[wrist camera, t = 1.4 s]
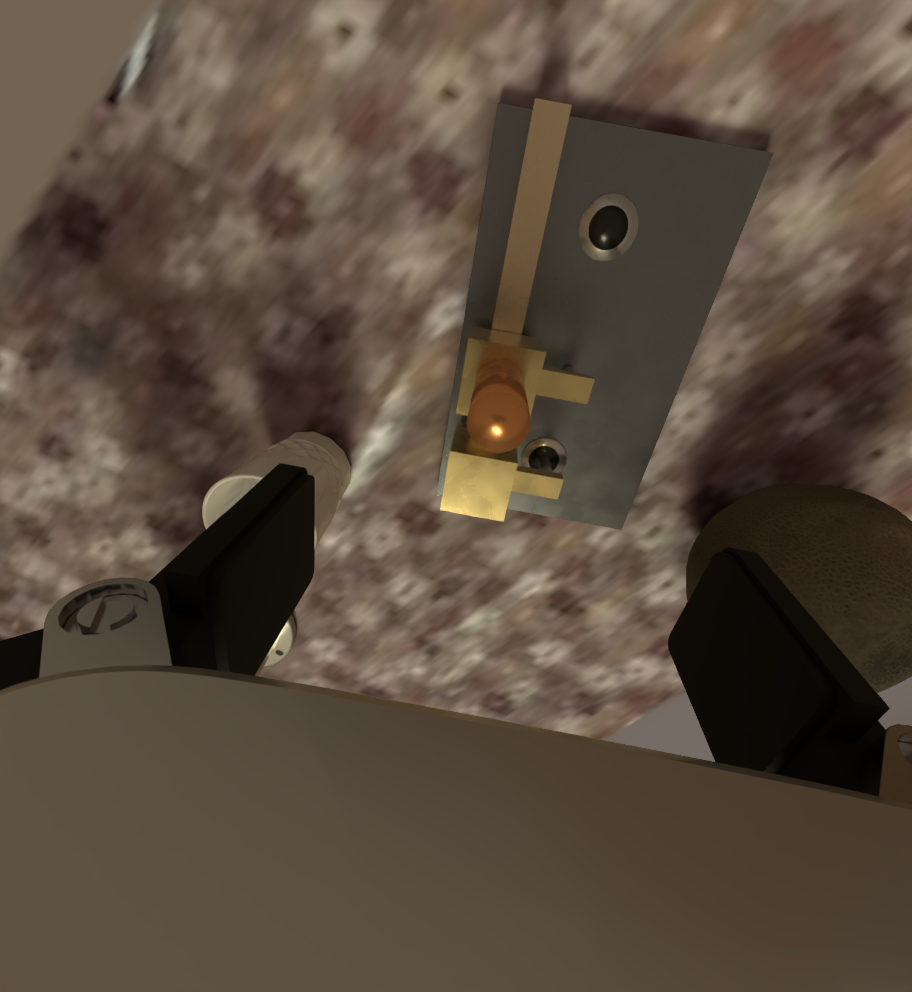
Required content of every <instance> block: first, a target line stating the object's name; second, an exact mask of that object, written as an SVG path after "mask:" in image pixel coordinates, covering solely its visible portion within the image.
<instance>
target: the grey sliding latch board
mask: <svg viewBox="0 0 912 992" xmlns="http://www.w3.org/2000/svg"><path fill="white" fill-rule="evenodd" d="M571 107H572V105H571V104H565V103H559V102H554V101H548V100H543V99H537V98H535V101H534V106H533V109H529V108H523V107H518V106H512V105H507V104H501V103H498V109H497V115H496V122H495V128H494V134H493V140H492V147H491V153H490V159H489V166H488V172H487V178H486V185H485V191H484V197H483V204H482V210H481V216H480V223H479V229H478V235H477V242H476V248H475V254H474V261H473V267H472V273H471V279H470V286H469V292H468V298H467V305H466V311H465V317H464V324H463V330H462V336H461V343H460V349H459V355H458V362H457V368H456V374H455V381H454V387H453V393H452V400H451V406H450V412H449V418H448V425H447V431H446V437H445V444H444V450H443V456H442V463H441V469H440V475H439V482H438V488H437V494H436V496H442V502H441V508H440V510H443V511H449V512H454V513H460V514H465V515H470V516H476V517H481V518H487V519H492V520H497V521H503V522H504V518H505V514H506V510H507V509H512V510H517V511H523V512H528V513H534V514H539V515H544V516H550V517H555V518H561V519H566V520H571V521H577V522H582V523H587V524H593V525H598V526H604V527H609V528H614V529H620V530H621V529H622V527H623V524H624V522H625V520H626V517H627V515H628V512H629V510H630V507H631V505H632V502H633V500H634V497H635V495H636V492H637V490H638V487H639V485H640V482H641V480H642V477H643V475H644V472H645V470H646V468H647V465H648V463H649V460H650V458H651V455H652V453H653V450H654V448H655V445H656V443H657V440H658V438H659V435H660V433H661V430H662V428H663V425H664V423H665V421H666V418H667V416H668V413H669V411H670V408H671V406H672V403H673V401H674V398H675V396H676V393H677V391H678V388H679V386H680V383H681V381H682V378H683V376H684V373H685V371H686V369H687V366H688V364H689V361H690V359H691V356H692V354H693V351H694V349H695V346H696V344H697V341H698V339H699V336H700V334H701V331H702V329H703V326H704V324H705V322H706V319H707V317H708V314H709V312H710V309H711V307H712V304H713V302H714V299H715V297H716V294H717V292H718V289H719V287H720V284H721V282H722V279H723V277H724V274H725V272H726V270H727V267H728V265H729V262H730V260H731V257H732V255H733V252H734V250H735V247H736V245H737V242H738V240H739V237H740V235H741V232H742V230H743V227H744V225H745V222H746V220H747V218H748V215H749V213H750V210H751V208H752V205H753V203H754V200H755V198H756V195H757V193H758V190H759V188H760V185H761V183H762V180H763V178H764V175H765V173H766V171H767V168H768V166H769V163H770V161H771V158H772V156H773V153H772V152H766V151H761V150H755V149H750V148H744V147H739V146H733V145H728V144H722V143H716V142H711V141H705V140H700V139H694V138H689V137H683V136H678V135H672V134H667V133H661V132H656V131H650V130H645V129H639V128H634V127H628V126H623V125H617V124H612V123H606V122H600V121H595V120H589V119H584V118H578V117H573V116H570V111H571ZM473 326H475V327H481V328H486V329H492V330H497V331H503V332H508V333H513V334H519V335H524V336H530V337H535V338H540V340H541V342H542V344H543V346H544V348H545V350H546V356H545V360H544V364H543V367H548V368H554V369H559V370H564V369H565V368H567V367H572V368H573V369H574V370H575V371H576V373H581V374H586V375H592V376H593V377H594V379H595V381H594V384H593V387H592V390H591V394H590V397H589V400H588V403H587V404H583V403H577V402H572V401H566V400H561V399H556V398H550V397H545V396H539V395H536V396H535V400H534V404H533V408H532V412H531V416H530V419H531V426H530V430H529V433H528V435H527V437H526V439H525V440H524V441H523V442H522V443H521V444H520V445H519V446H518V447H516V448H515V449H513V450H511V451H508V452H503V453H494V452H489V451H486V450H484V449H482V448H480V447H479V446H478V445H477V444H476V443H475V442H474V441H473V440H472V438H471V437H470V435H469V432H468V429H467V417H468V416H467V415H461V414H456V410H457V404H458V398H459V392H460V386H461V380H462V374H463V368H464V362H465V356H466V350H467V344H468V338H469V336H470V333H471V331H472V329H473Z"/></svg>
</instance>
